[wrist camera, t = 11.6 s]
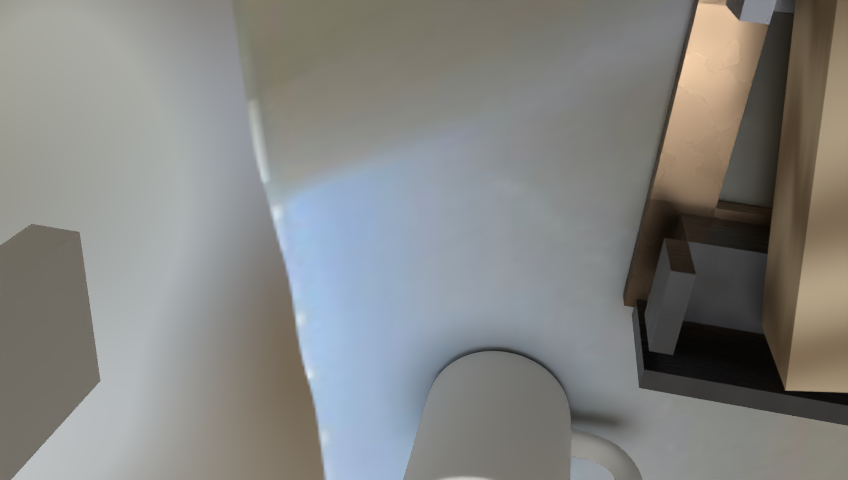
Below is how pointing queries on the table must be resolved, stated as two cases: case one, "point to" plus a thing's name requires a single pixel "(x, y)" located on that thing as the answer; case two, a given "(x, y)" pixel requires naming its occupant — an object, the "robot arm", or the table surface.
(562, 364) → the table surface
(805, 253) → the rail
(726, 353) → the brackets
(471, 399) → the mug
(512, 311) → the table surface
